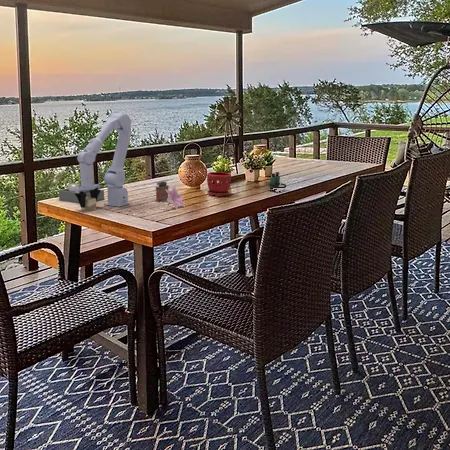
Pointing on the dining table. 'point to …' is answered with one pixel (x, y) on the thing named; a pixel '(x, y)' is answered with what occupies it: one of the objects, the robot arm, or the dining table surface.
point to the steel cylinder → (72, 187)
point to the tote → (71, 197)
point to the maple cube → (89, 204)
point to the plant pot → (220, 187)
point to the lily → (175, 197)
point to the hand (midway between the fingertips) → (88, 205)
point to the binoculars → (275, 181)
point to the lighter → (161, 191)
